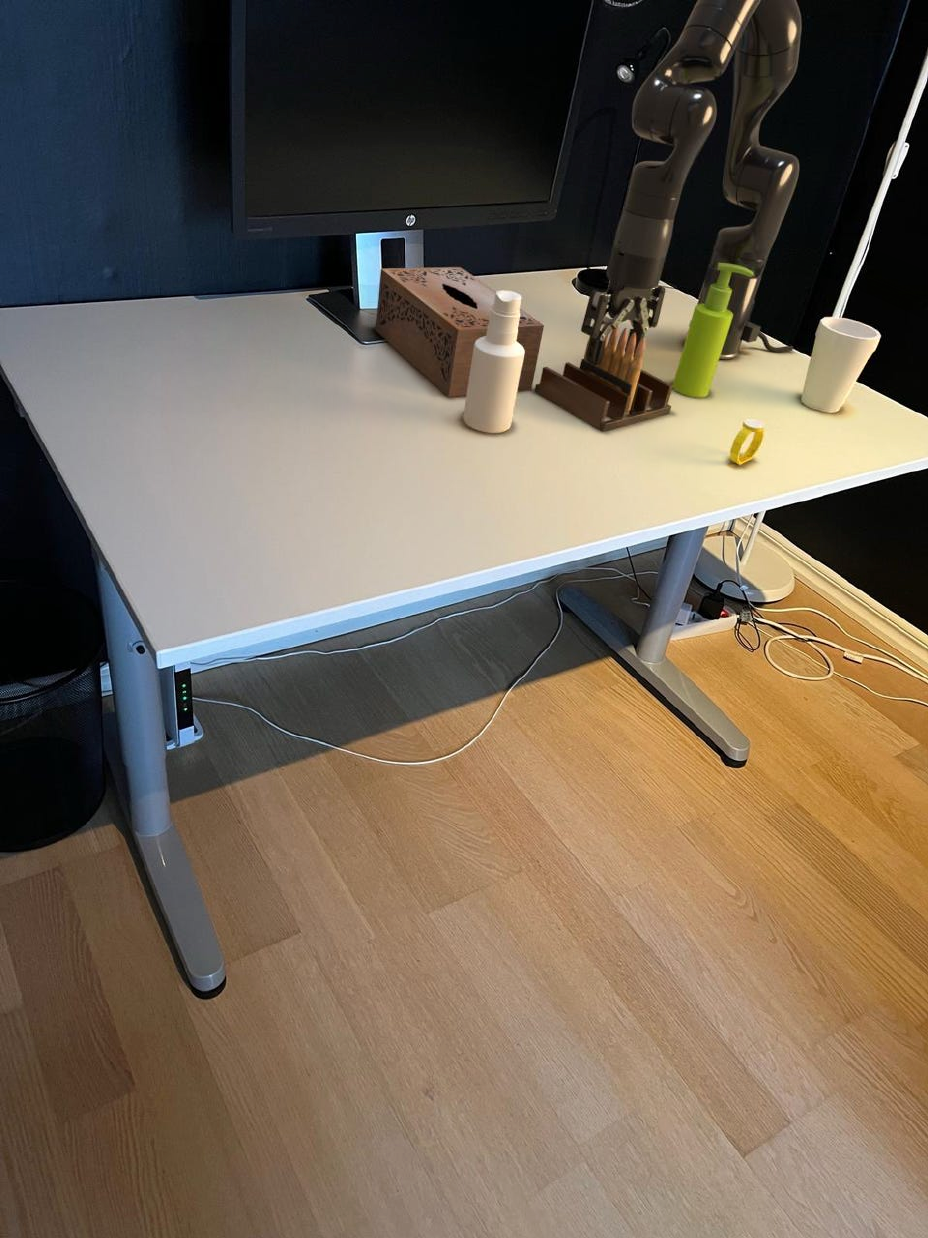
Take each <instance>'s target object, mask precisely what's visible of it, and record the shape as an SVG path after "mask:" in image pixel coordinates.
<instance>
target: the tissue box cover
mask: <svg viewBox="0 0 928 1238" xmlns="http://www.w3.org/2000/svg"><path fill="white" fill-rule="evenodd" d="M496 292H497V291H496V290H494V289H493V288H491V287H490V286H489V285H487V284H486V283H484V282H482V281H481V280H480V279H478V278H477V277H475V276H474V275H473V274H472V273H469V272H468V271H467V270H466V269H464V268H462V267H461V266H446V267H443V266H442V267H441V266H439V267H399V268H398V267H395V268H394V267H392V268H391V267H388V268H380V273H379V285H378V296H377V306H376V307H377V308H376V319H375V332H376V333H377V334H379V335H380V336H381V338H383V339H384V340H385V341H386V342H387V343H388V344H390V346H392V347H393V348H394V349H395V350H396V351H397V352H399V354H400V355H402V356H403V357H404V358H405V359H406V360H407V361H408V362H409V363H411V365H412V366H414V367H415V369H417V370H418V371H419V372H420V373H422V374H423V375H424V376H425V377H426V378H427V379H428V380H429V381H430V382H431V383H433V385H435V386H436V387H437V388H438V389H439V390H440V391H442V393H444V395H446V396H447V397H448V398H453V397H466V395H467V388H468V382H469V375H470V369H471V362H472V356H473V349H474V344H475V342H476V340H478V339H479V338H481V337H484V336H486V334H487V328H488V324H489V319H490V313H491V309H492V308H493V305H494V300H495V293H496ZM544 328H545V325H544V324H543V323H542V322H540V321H538V320H537V319H535V318H534V317H533V316H531V314H528V313H527V312H526V311H524V310H523V309H522V308H520V319H519V325H518V334H517V339H516V341H517V342H518V343H519V344H520V345H522V347H523V348H524V350H525V353H524V359H523V364H522V369H521V375H520V380H519V385H518V391H517V392H519V391H528V390H529V391H530V390H532V389H533V383H534V378H535V373H536V370H537V365H538V358H539V355H540V348H541V343H542V338H543V334H544Z"/></svg>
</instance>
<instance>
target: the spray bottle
mask: <svg viewBox="0 0 928 1238" xmlns="http://www.w3.org/2000/svg"><path fill="white" fill-rule="evenodd" d="M495 292H496V293H495V300H494V305H493V308H492V309H491V313H490V319H489V324H488V328H487V334H486V336H484V337H481V338H479V339H478V340H476V342H475V344H474V349H473V356H472V362H471V369H470V375H469V382H468V388H467V395H466V396H465V401H464V408H463V414H462V418H463V422H464V423H465V424H466V425H467V426H468V427H470V428H471V429H473V430H476V431H479V432H483V433H487V434H488V433H489V434H497V433H498V434H499V433H503V432H506V431H508V430H510V428H511V426H512V422H513V416H514V411H515V405H516V402H517V401H516V400H517V396H518V392H519V391H518V385H519V380H520V375H521V369H522V364H523V359H524V353H525V350H524V348H523V347H522V345H520V344H519V343H518V342H517V341H516V339H517V334H518V325H519V319H520V309H521V303H522V299H523V297H522V295H521V294H519V292H516V291H512V290H506V289H504V290H503V289H502V290H497V291H495Z"/></svg>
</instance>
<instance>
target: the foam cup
mask: <svg viewBox="0 0 928 1238" xmlns="http://www.w3.org/2000/svg"><path fill="white" fill-rule="evenodd" d="M814 336H815V339H814V342H813V348H812V351H811V352H812V353H811V355H810V360H809V365H808V367H807V373H806V377H805V380H804V385H803V389H802V392H801V398H800V400H801V403H803V404H804V405H805V407H809V408H810V409H812V410H815V411H818V412H822V413H829V414H832V413H833V414H834V413H837V412H839V411H840V410H841V408H842V406H843V405H844V403H845V401H846V400H847V397H848V396H849V394H850V393H851V391H852V389H853V388H854V385H855V384H856V382H857V381H858V378H859V377H860V375H861V374H862V371H863V370H864V368H865V366H866V364H867V363H868V360H869V359H870V358H871V356H872V354H873V353H874V352H875V351H876V349H877V347H878V345H879V342H880V339H881V337H882V335H881V333H880V332H879V331H878V329H875V328H874V327H872V326H870V325H868V324H865V323H863V322H860V321H858V320H857V321H856V320H853V319H849V318H845V317H838V316H837V317H836V316H824V317H823V318H822V319H820V320H819V323H818V326H817V328H816V331H815V334H814Z"/></svg>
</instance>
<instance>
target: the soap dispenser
mask: <svg viewBox="0 0 928 1238" xmlns="http://www.w3.org/2000/svg"><path fill="white" fill-rule="evenodd" d="M718 270H721V271H720V274H719V278H718V281H717V283H714V284H712V285H710V288H709V291H708V295H707V298H706V302H705V304H698V305H697V304H695V307H694V310H693V314H692V317H691V319H690V321H691V324H690V323H689V324H690V327H689V326H688V330H687V334H686V338H685V340H684V345H683V348H682V352H681V355H680V358H679V362H678V365H677V368H676V371H675V376H674V378H673V382H672V386H673V387H672V389H673V390H674V391H676V392H677V393H679V394H681V395H683V396H687V397H690V398H691V397H692V398H706V397H707V396H708V395H709V392H710V389H711V387H712V383H713V381H714V376H715V373H716V371H717V368H718V364H719V360H720V359H719V358H720V355H721V352H722V349H723V345H724V342H725V339H726V336H727V333H728V330H729V327H730V323H731V320H732V317H733V313H732V312H731V311H729V310H728V309H727V305H728V302H729V299H730V296H731V293H732V289H731V288H730V287H729V286H728V283H729V280H730V277H731V274H732V272H736V273H741V274H744V275H746V276H749V277H752V276H754V274H753V272H752V271H751V270H749V269H747V268H745V267H742V266H738V265H734V264H726V263H718Z"/></svg>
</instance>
